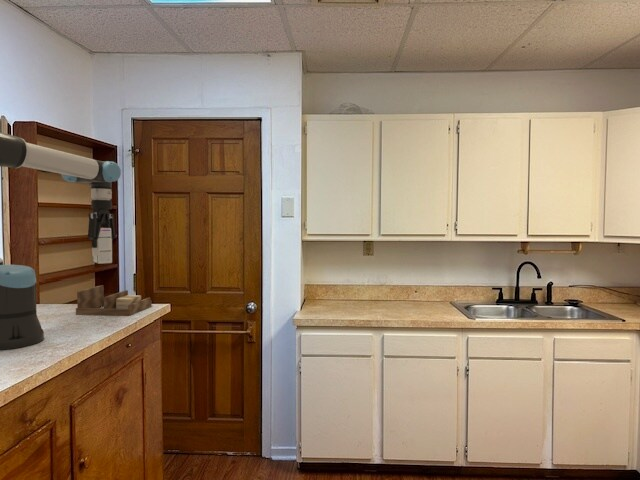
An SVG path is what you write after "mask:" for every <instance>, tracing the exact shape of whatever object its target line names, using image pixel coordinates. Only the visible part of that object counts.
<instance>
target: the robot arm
mask: <svg viewBox="0 0 640 480" xmlns="http://www.w3.org/2000/svg"><path fill="white" fill-rule="evenodd" d="M1 167H3V168H11V169H18V168H19V169H20V168H21V167H23V168H29V169H34V170H39V171H44V172H50V173H55V174H60V175H61V178H62V179H63V180H64V181H65V182H69V183H72V184H73V183H74V184H75V183H77V184H85V185H86V184H88V185H90V199H92V200H91V201H90V204H91V205H90V207H91V209H92V210H93V213H88V218H89V219H88V227H87V228H88V229H87V238H88V240H91V254H92V257H93V256H100V240H98V237H99V233H100V229H101V228H111V239H112V240H114V239H115V238H116V230H115V228H116V227H115V214H114V213H110V210H112V209H113V201H112V198H113V197H112V196H113V195H112V194H113V191H112V187H113V186H112V182H117V181H118V180H119V179H120V178H121V174H122V173H121V171H122V170H121V167H120V165H119V164H118V163H116V162H115V161H109V160H106V161H102V160H97V159H94V158H88V157H87V156H82V155H78V154H74V153H69V152H66V151H61V150H59V149H55V148H54V149H53V148H50V147H45V146H42V145H38V144H34V143H30V142H26V140H25V139H24V138H22V137H21V136H16V135H12V134H9V133H4V132H2V131H0V168H1ZM44 339H45V332H44V329H43V328H42V325H41V322H40V320H39V317H38V315H37V277H36V271H35V269H34V268H32V267H31V266H28V265H24V264H23V265H22V264H4V260H3V259H2V258H1V257H0V351H1V350H10V349H19V348H23V347H28V346H32V345H35V344H38V343H40V342H42V341H43V340H44Z"/></svg>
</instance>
